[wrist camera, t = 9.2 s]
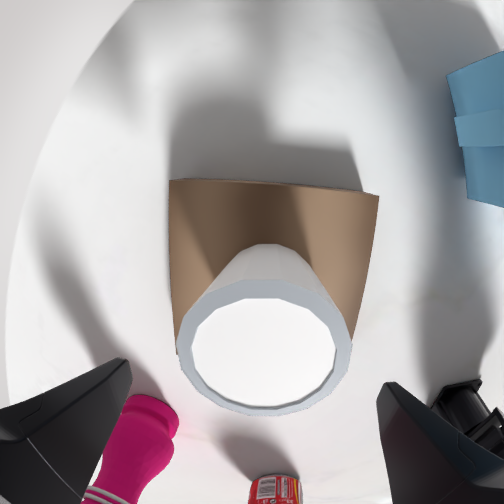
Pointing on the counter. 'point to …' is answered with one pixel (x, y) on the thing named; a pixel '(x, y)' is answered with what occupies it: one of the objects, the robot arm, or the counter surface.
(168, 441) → the pepper mill
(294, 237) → the walnut base block
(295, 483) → the soda can
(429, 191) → the counter surface
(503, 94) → the teapot
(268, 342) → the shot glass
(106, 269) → the counter surface
